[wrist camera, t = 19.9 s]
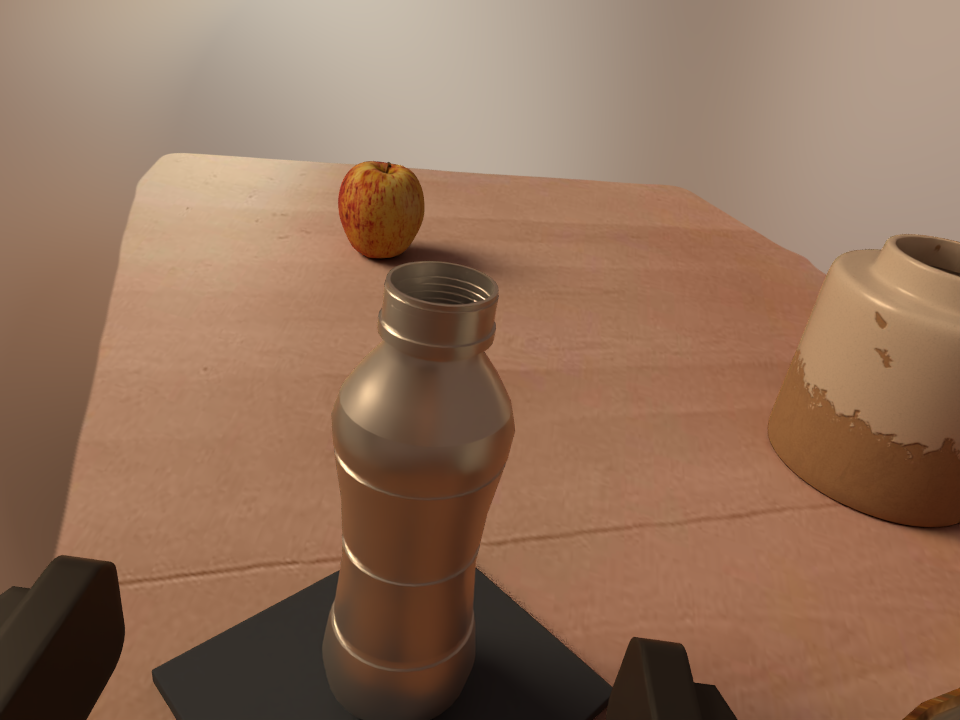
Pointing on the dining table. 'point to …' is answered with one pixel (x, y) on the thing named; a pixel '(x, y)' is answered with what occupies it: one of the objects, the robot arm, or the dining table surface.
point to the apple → (381, 208)
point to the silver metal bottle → (415, 493)
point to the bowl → (938, 708)
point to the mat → (305, 688)
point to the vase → (880, 384)
